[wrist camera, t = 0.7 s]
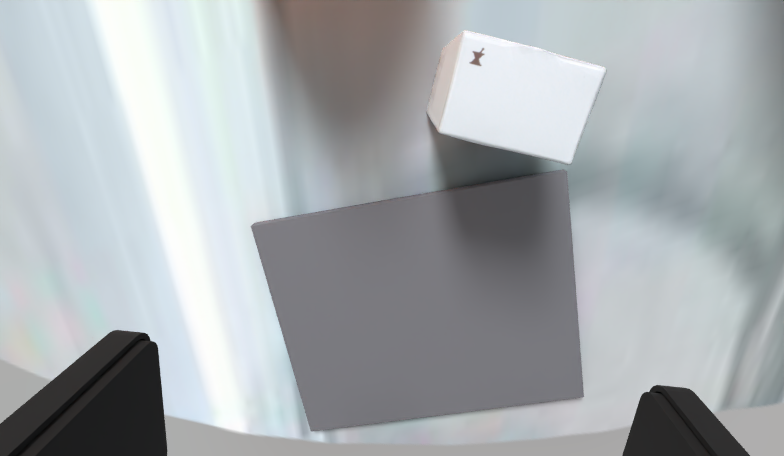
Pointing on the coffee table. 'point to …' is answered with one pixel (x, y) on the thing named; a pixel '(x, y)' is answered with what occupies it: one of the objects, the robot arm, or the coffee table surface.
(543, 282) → the mat
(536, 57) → the skincare box
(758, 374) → the coffee table surface
